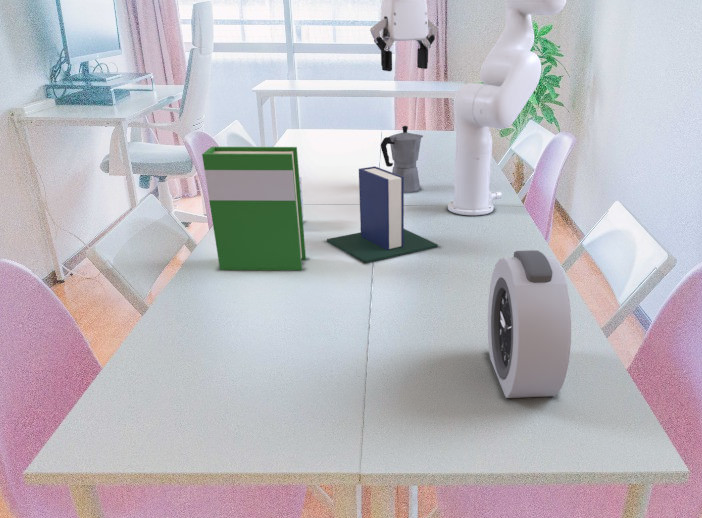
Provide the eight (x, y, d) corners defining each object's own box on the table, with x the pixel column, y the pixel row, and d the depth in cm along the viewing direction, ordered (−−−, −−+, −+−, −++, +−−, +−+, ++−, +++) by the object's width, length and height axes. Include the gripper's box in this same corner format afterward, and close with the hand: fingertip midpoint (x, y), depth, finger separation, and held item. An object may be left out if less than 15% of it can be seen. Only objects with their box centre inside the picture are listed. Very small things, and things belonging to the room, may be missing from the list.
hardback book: (305, 258, 150) (296, 146, 137) (301, 270, 143) (291, 154, 131) (227, 258, 150) (211, 146, 137) (220, 270, 143) (202, 154, 131)
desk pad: (396, 227, 169) (396, 225, 169) (437, 246, 157) (437, 244, 156) (326, 241, 160) (326, 239, 159) (365, 263, 147) (365, 260, 147)
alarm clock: (485, 345, 114) (493, 232, 103) (527, 344, 114) (540, 231, 104) (511, 413, 96) (525, 284, 85) (562, 410, 96) (581, 282, 86)
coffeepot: (411, 182, 208) (412, 121, 198) (431, 188, 202) (432, 125, 192) (372, 190, 200) (371, 126, 190) (391, 197, 194) (391, 131, 184)
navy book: (376, 233, 163) (375, 166, 155) (403, 246, 155) (403, 176, 146) (360, 236, 161) (358, 168, 153) (387, 250, 153) (386, 179, 144)
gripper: (427, -20, 148) (426, 66, 157) (361, -20, 140) (363, 70, 149) (448, -20, 143) (445, 68, 152) (380, -20, 134) (381, 73, 144)
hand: (404, 69), depth 150 cm, fingers open, 9 cm apart
